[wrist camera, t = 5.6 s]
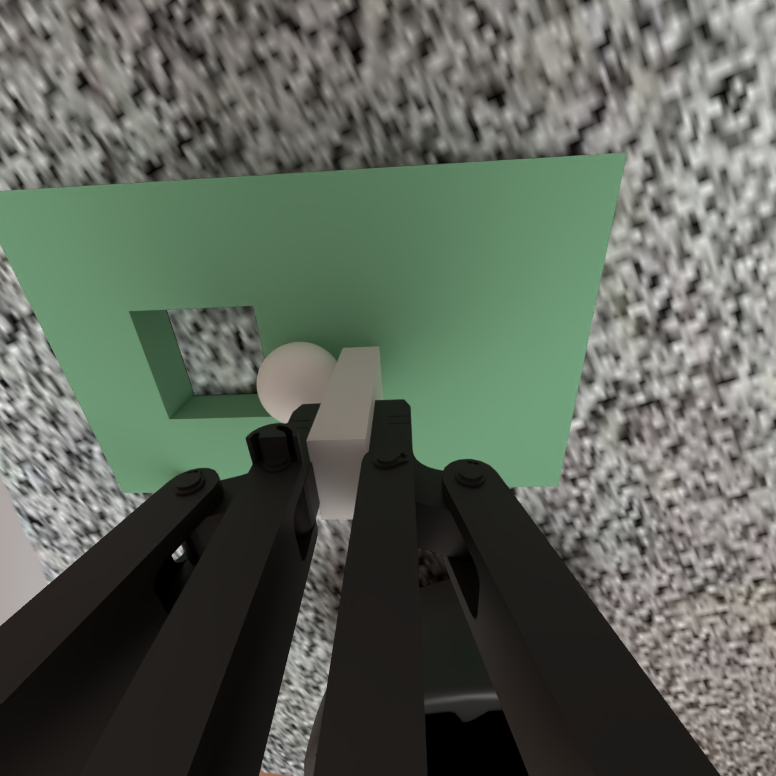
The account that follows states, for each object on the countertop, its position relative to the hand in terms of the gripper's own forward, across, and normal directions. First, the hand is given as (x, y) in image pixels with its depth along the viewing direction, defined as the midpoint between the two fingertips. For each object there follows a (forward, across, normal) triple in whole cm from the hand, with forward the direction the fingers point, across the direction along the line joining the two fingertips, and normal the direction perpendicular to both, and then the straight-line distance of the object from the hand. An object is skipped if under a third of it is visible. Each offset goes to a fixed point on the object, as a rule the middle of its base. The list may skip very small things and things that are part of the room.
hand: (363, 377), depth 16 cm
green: (+4, -2, 0) cm, 5 cm away
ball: (0, -3, 0) cm, 3 cm away
